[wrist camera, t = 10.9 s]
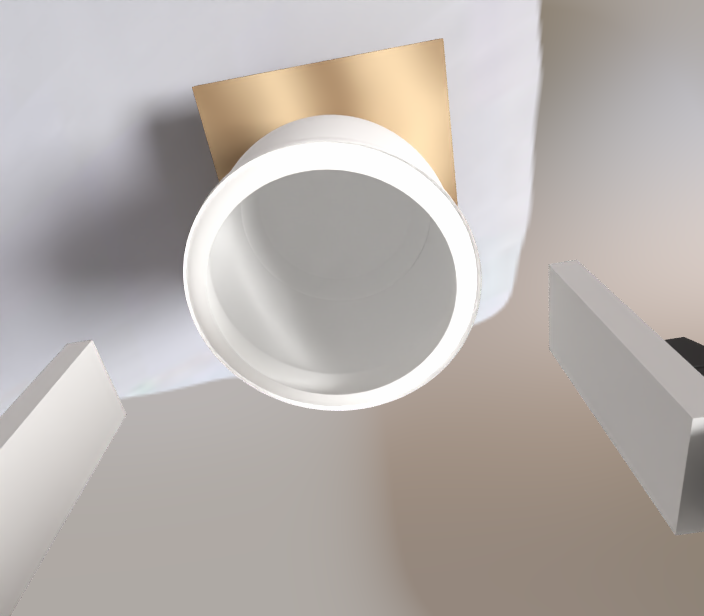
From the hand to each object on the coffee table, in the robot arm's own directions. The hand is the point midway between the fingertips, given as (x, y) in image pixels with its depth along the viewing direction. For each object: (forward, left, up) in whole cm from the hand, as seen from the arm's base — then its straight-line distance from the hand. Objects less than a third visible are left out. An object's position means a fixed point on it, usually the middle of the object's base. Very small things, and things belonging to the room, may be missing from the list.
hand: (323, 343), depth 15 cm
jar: (0, 0, -19) cm, 19 cm away
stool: (0, 0, -26) cm, 26 cm away
